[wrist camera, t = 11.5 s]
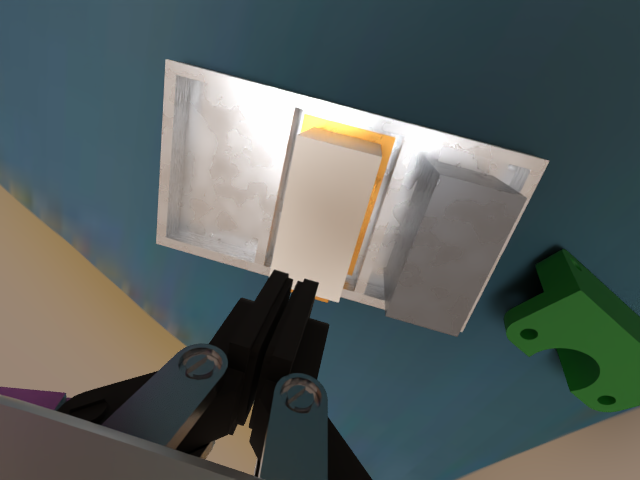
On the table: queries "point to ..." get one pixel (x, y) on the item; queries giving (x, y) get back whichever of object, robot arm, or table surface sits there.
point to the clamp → (582, 333)
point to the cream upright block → (324, 208)
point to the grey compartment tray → (384, 204)
